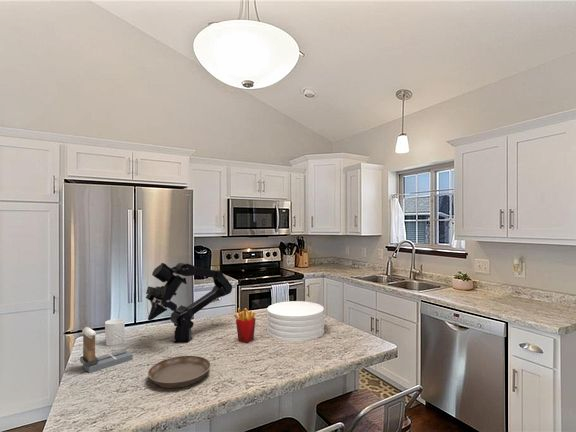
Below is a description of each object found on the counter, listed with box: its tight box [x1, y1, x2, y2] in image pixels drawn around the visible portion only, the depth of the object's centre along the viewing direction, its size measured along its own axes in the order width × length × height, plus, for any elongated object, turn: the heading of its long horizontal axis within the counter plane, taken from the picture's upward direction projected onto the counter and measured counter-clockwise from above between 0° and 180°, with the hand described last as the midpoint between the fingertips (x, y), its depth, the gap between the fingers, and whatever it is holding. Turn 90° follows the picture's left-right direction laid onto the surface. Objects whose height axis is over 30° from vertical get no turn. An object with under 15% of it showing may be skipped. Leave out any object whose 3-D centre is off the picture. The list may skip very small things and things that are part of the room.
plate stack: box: [266, 300, 325, 342], centre depth 156 cm, size 28×28×12 cm
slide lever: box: [79, 326, 98, 367], centre depth 117 cm, size 4×7×12 cm, turn 47°
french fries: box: [233, 307, 257, 344], centre depth 143 cm, size 9×8×15 cm
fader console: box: [82, 349, 134, 374], centre depth 122 cm, size 15×8×2 cm, turn 137°
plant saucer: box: [147, 355, 211, 389], centre depth 111 cm, size 21×21×3 cm
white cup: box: [104, 318, 126, 347], centre depth 143 cm, size 8×8×10 cm
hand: (148, 320), depth 134 cm, fingers closed
